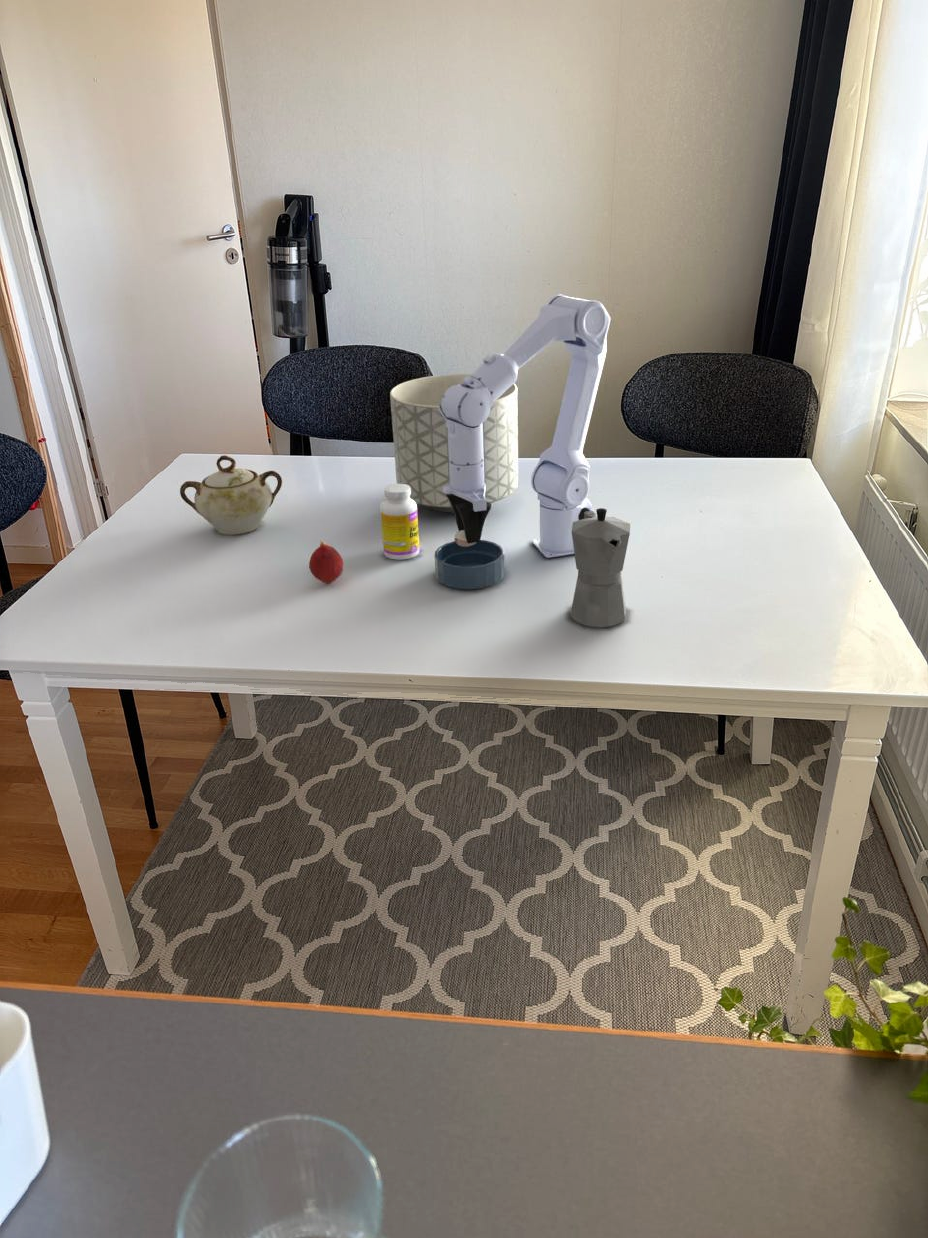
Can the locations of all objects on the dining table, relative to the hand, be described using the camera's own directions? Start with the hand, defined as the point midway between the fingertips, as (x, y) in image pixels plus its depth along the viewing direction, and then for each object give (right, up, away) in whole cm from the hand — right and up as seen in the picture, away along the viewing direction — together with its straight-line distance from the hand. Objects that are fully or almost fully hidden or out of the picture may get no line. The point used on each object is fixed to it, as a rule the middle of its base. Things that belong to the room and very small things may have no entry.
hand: (469, 536), depth 161 cm
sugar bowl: (-46, +4, +28) cm, 54 cm away
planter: (-2, +10, +35) cm, 37 cm away
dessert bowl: (0, -7, +4) cm, 8 cm away
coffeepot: (+20, -13, -10) cm, 26 cm away
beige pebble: (0, -1, +1) cm, 2 cm away
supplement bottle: (-12, -2, +14) cm, 19 cm away
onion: (-24, -8, +3) cm, 26 cm away
